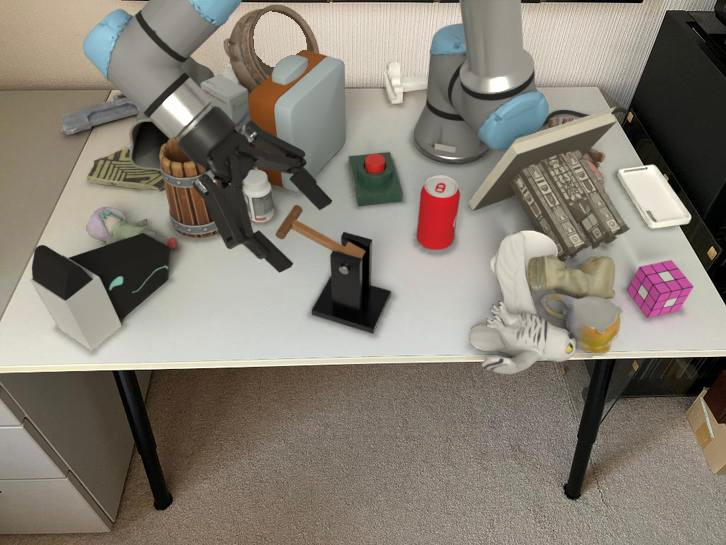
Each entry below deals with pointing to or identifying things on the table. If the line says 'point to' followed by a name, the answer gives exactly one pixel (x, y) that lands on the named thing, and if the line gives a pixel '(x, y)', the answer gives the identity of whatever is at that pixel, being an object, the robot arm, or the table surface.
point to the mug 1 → (185, 193)
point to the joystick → (401, 82)
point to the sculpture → (573, 277)
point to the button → (375, 163)
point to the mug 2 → (587, 320)
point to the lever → (314, 234)
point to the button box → (375, 181)
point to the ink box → (228, 98)
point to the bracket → (352, 289)
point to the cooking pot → (242, 46)
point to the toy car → (230, 74)
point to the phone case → (653, 196)
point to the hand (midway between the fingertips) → (307, 235)
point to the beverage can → (438, 212)
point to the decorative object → (99, 285)
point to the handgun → (98, 114)
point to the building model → (557, 185)
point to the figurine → (590, 157)
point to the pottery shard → (124, 173)
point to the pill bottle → (258, 196)
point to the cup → (534, 248)
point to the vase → (148, 135)
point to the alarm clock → (303, 109)
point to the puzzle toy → (659, 288)
